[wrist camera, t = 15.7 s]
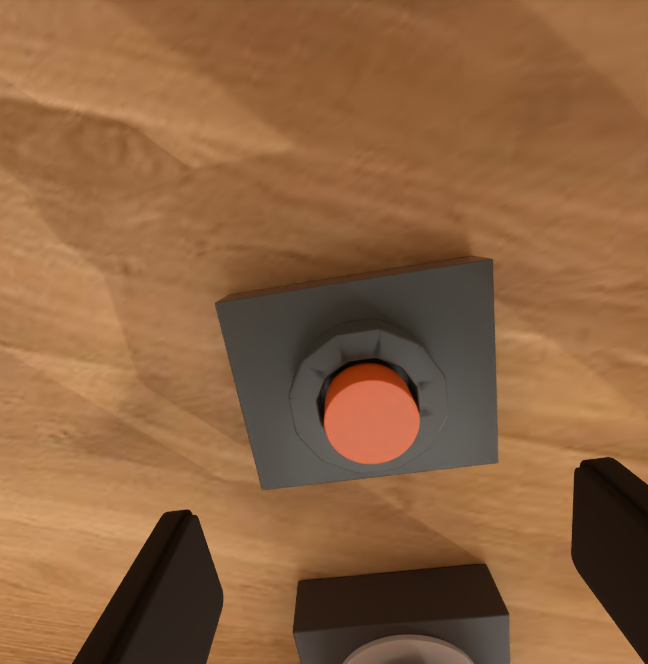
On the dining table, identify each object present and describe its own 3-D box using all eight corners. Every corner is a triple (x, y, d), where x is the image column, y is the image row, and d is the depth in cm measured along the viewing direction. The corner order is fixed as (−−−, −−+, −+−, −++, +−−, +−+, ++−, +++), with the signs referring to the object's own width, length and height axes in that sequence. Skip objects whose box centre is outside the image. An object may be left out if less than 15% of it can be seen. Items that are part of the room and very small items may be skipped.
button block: (472, 255, 16) (515, 261, 12) (480, 437, 19) (518, 489, 15) (229, 294, 17) (198, 311, 13) (269, 463, 20) (253, 518, 16)
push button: (405, 356, 14) (415, 373, 12) (413, 433, 15) (424, 458, 13) (318, 368, 14) (316, 386, 12) (332, 443, 15) (331, 469, 13)
